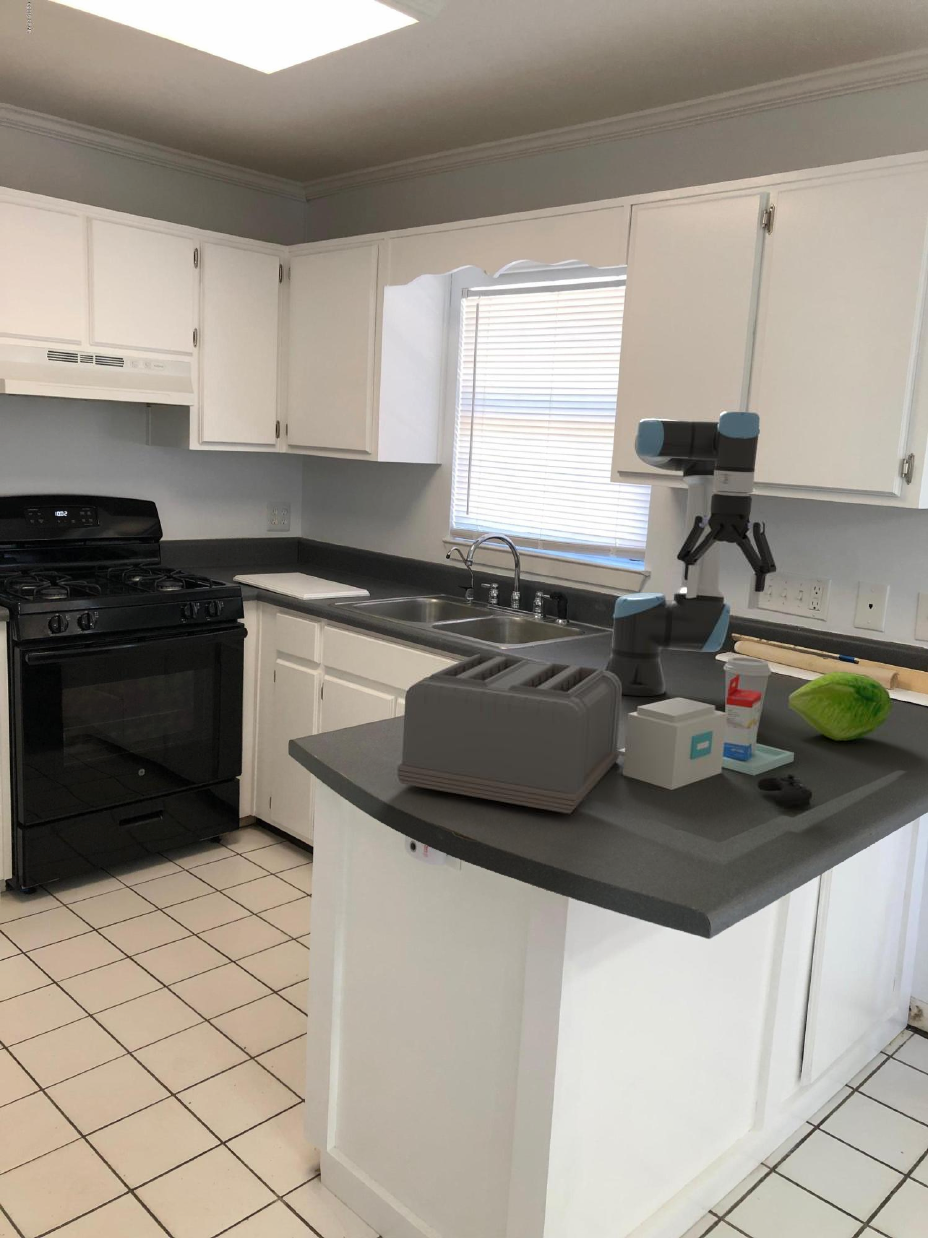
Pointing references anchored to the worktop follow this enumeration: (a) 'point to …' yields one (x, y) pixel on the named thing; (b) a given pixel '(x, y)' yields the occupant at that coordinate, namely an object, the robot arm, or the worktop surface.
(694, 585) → the robot arm
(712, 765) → the white lidded box
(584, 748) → the toaster
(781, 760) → the tray
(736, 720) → the ink box
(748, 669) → the coffee cup
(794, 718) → the worktop surface
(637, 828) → the worktop surface
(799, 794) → the gaming controller
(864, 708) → the lettuce
